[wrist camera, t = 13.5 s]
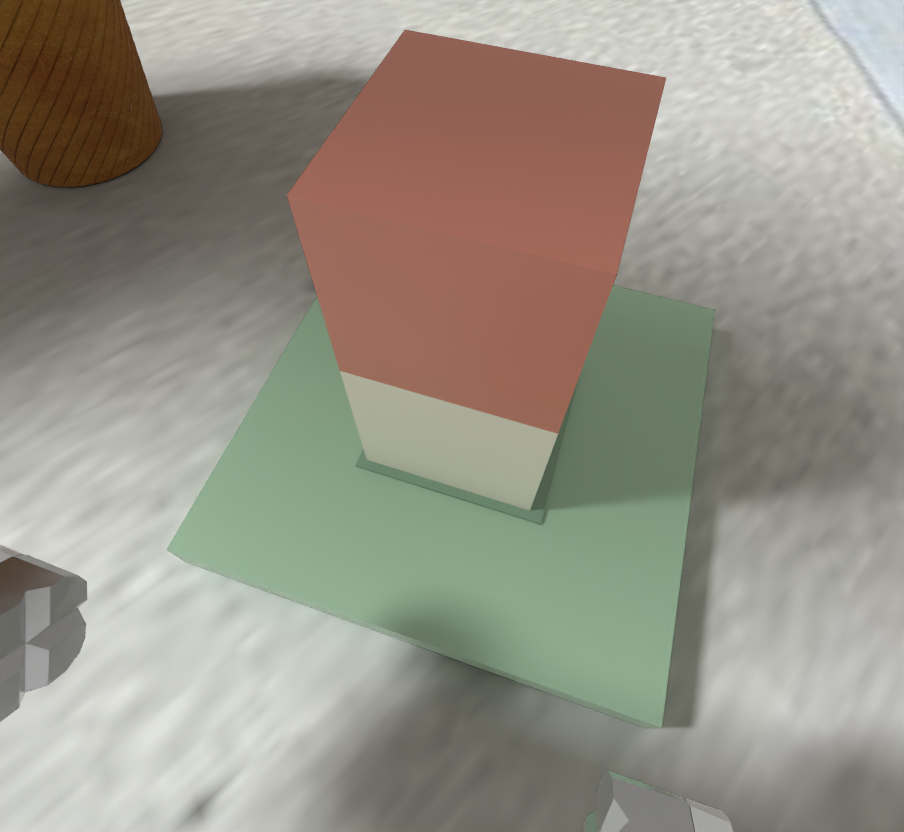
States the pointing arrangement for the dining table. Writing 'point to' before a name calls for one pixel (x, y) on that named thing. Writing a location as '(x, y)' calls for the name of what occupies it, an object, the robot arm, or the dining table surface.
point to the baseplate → (483, 518)
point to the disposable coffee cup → (73, 92)
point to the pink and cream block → (472, 249)
